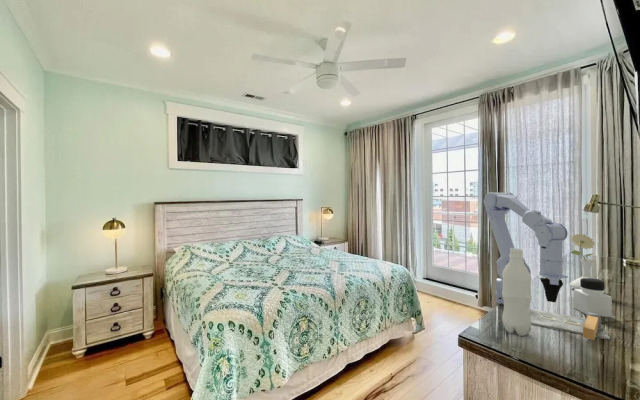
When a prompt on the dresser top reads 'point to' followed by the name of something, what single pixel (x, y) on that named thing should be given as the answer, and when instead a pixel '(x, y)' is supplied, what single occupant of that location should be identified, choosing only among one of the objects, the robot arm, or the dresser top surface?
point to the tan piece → (591, 325)
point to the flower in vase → (584, 243)
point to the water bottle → (516, 294)
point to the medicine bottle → (592, 298)
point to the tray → (562, 322)
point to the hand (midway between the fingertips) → (551, 301)
